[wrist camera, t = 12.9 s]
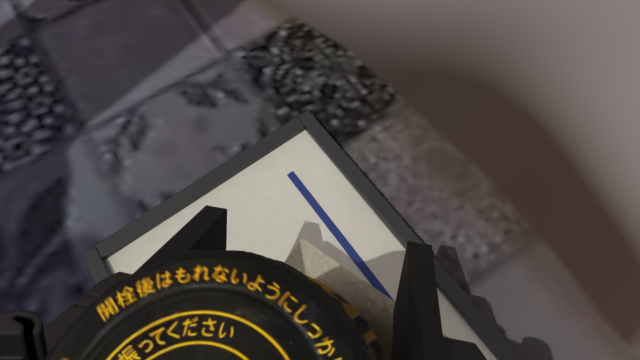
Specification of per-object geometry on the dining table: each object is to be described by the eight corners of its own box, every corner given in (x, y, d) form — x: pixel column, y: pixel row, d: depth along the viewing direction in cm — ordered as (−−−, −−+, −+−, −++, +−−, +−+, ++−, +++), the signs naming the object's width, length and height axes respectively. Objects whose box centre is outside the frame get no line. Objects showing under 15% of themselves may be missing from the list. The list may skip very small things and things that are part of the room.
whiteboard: (90, 259, 22) (80, 254, 21) (309, 118, 25) (308, 108, 24) (347, 779, 14) (347, 807, 13) (625, 488, 17) (641, 495, 16)
